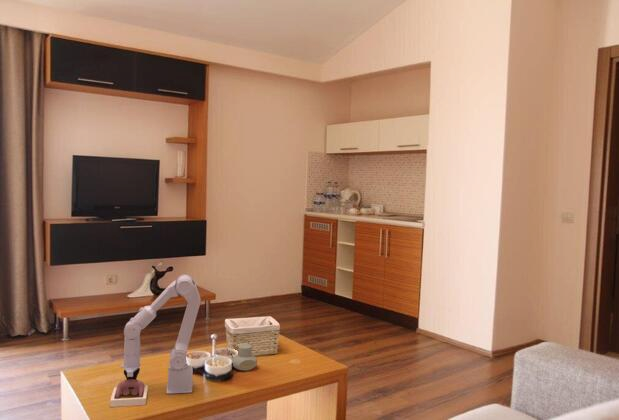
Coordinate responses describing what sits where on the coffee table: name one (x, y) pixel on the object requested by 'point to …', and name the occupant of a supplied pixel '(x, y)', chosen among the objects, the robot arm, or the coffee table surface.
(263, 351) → the storage basket
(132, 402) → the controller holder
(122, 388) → the video game controller
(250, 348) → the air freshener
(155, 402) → the coffee table surface
